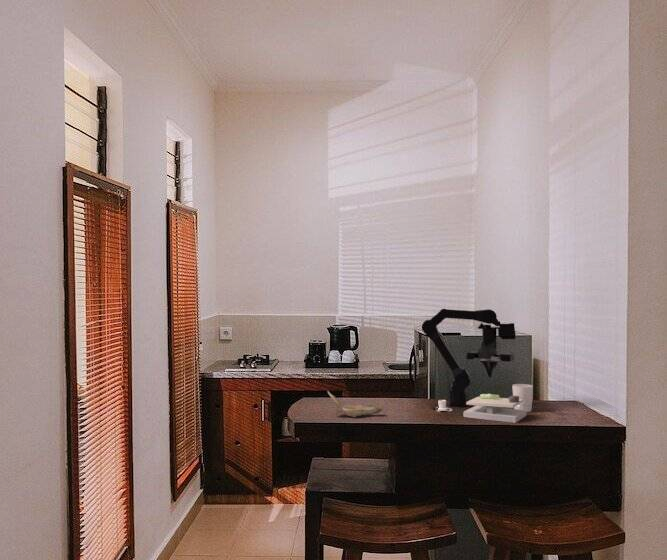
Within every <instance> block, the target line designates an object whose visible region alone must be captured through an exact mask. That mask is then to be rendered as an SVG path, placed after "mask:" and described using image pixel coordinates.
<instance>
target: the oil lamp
mask: <svg viewBox="0 0 667 560" xmlns="http://www.w3.org/2000/svg"><path fill="white" fill-rule="evenodd" d="M327 394H328V395H329V396H330V398H331V399H332V401H333V405H334V411H335V413H336V414H338V415H340V414H345V415H348V416H360V417H362V416H361V415H364V416H369V414H370V415H375V414H376V415H377V414H379V413H380V412H382V410H383V408H382V407H377V406H376V407H375V406H371V407H370V406H369V407H368V406H364V405H363V404H362V405H361V404H347V405H342V403H341V402H340V400H339V399H338V398H336V396H335V395H333V394H332V393H331V392H330V391H328V390H327ZM338 409H340V411H339V410H338ZM345 415H344V416H345Z"/></svg>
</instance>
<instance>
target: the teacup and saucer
mask: <svg viewBox="0 0 667 560" xmlns="http://www.w3.org/2000/svg"><path fill="white" fill-rule="evenodd" d="M437 402H438V404H437V405H438V407H439V408H438V407H437V408H438V409H437V412H440V411H447V412H452V411H453V408H450V407H447V400H446V399H438V401H437Z"/></svg>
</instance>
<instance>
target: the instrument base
mask: <svg viewBox="0 0 667 560" xmlns="http://www.w3.org/2000/svg"><path fill="white" fill-rule="evenodd" d="M462 413H463V414H462V415H463V417H464V418H469V419H479V420H480V419H481V420H486V421H487V420H488V421H496V422H497V421H498V422H504V423H505V422H506V423H512V424H513V423H514V424H515V423H518V422H519V421H520V420H522V419H523V418H525V417H527V413H528V412H526V410H517V409H514V408H508V407H494V406H479V405H473V407H470V408H468V409H466V410H464V411H463V412H462Z"/></svg>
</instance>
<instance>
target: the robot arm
mask: <svg viewBox="0 0 667 560" xmlns="http://www.w3.org/2000/svg"><path fill="white" fill-rule="evenodd" d="M497 317H498V316H497V313H496V312H495V311H494V310H493V309H490V308H487V309H479V310H463V309H449V308H441V309H440V310H439V312H437V313H436V314H435V315H433V316H432V317H431V318H430V319H426V320H424V321H423V322H422V324H421V330H422V332H423V333H424V334H425V335H426V336H427V337H428V338H429V339H430V341H432V343H434V345H435V347H436V348H437V349H438V350H437V351H439V354H440V355H441V356H442V358H443V360H444V361H445V363H446V364H447V366H448V367H449V369H450V371H451V373H452V377H453V378H454V381H453V382H452V383H451V384H450V385H451V386H450V388H451V390H449V404H448V406H452V407H461V408H465V407H467V405H466V402H467V401H469V394H468V393H467V392H468V390H466V389H467V388H468V387H469V386H470V384H471V375H470V373H469V372H468V371H467V369H466V366H463V367H461V366H460V365H459V363H458V362H457V359H455V357H454V356H453V354H452V352H451V351H450V350H449V348H448V346H447V345H446V343H445V341H444V340H443V338H442V337H441V334H440V332H439V329H438V327H437V326H438V325H440V324H441V322H443V321H444V320H445V319H453V320H454V319H456V320H471V321H475V322H476V321H477V322H480V324H479V325H478V326H477V329H478V330H482V334H481V335H482V339H481V340H482V341H481V345H480V348H478V350H477V351H474V350H473V351H472V350H471V351H468V352H467V353H466V354H465V355H466V357H465V359H466V360H474V359H479V362H480V363H482V364H483V366H484V368H485V370H486V373H487V376H488V378H492V376H493V374H494V371H495V369H496V367H497V364H498V363H500V362H514V361H515V355H514V354H513V353H512V352H511V353H508V352H504V353H500V354H499V353H498V349H497V346H498V341H497V340H498V339H497V337H498V338H500V340H502V341H503V340H504V341H505V340H506V341H507V340H508V341H509V340H510V341H511V340H512V341H513V340H516V329H515V328H516V327H515V323H514V322H510V323H501V321H500V320H498V318H497ZM491 324H492V325H494V326H492V325H491Z"/></svg>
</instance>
